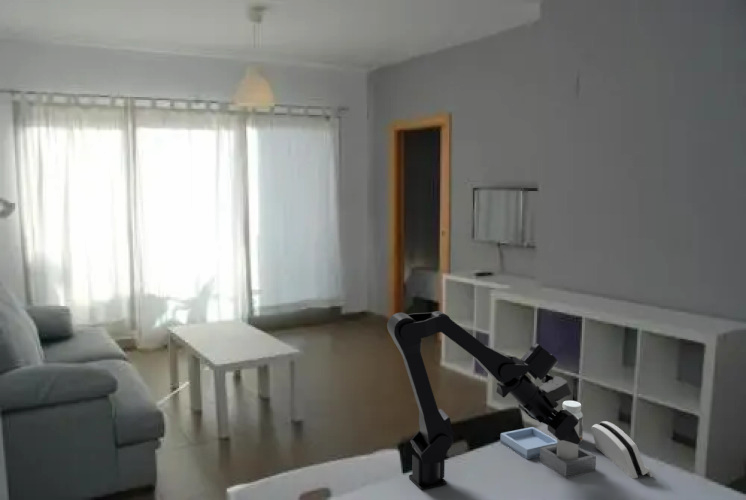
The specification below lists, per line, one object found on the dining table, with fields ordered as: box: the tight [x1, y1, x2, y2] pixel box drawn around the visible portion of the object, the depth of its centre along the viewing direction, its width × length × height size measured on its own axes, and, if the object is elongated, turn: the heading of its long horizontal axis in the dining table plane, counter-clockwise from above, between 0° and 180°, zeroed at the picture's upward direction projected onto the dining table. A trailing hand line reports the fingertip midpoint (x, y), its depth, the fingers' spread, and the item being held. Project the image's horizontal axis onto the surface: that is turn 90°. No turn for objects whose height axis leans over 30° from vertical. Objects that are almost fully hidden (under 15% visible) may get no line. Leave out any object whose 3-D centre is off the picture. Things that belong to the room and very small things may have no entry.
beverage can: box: [556, 416, 579, 461], centre depth 138 cm, size 5×5×12 cm
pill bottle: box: [561, 400, 584, 442], centre depth 153 cm, size 6×6×10 cm
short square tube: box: [539, 444, 597, 479], centre depth 138 cm, size 9×9×4 cm
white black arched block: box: [591, 420, 653, 479], centre depth 141 cm, size 17×5×10 cm, turn 8°
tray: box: [500, 426, 557, 460], centre depth 149 cm, size 11×11×2 cm
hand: (568, 434), depth 138 cm, fingers open, 9 cm apart
